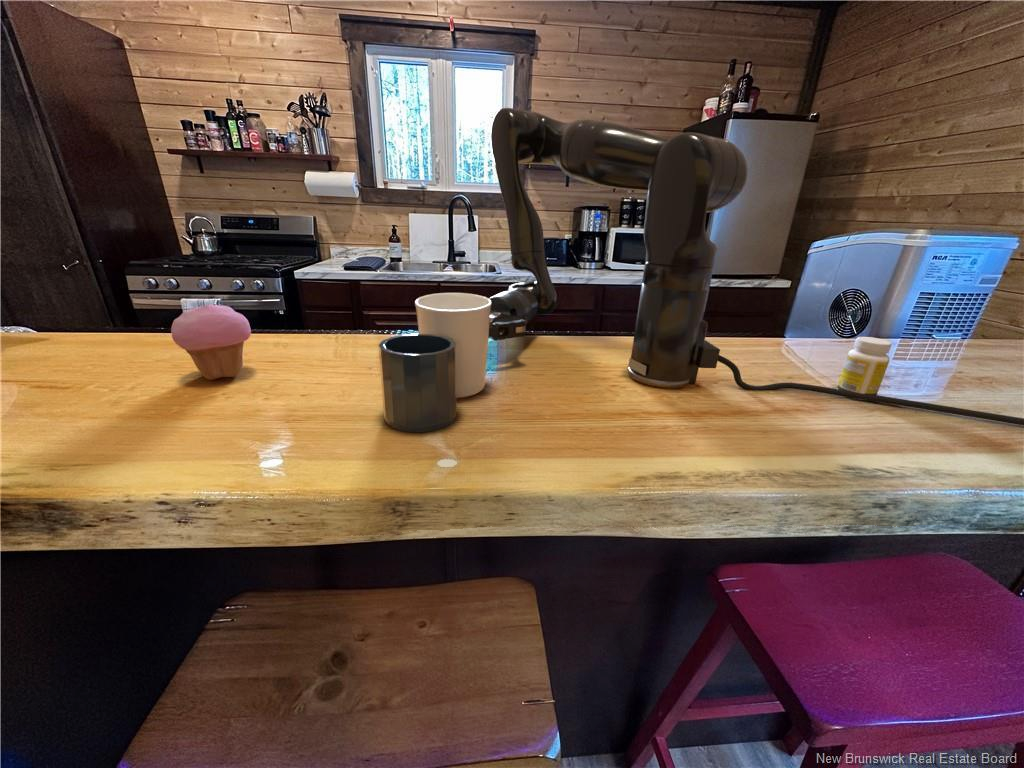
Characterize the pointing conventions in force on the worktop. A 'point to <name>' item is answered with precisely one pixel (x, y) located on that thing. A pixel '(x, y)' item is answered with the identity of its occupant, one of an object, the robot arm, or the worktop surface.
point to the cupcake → (213, 339)
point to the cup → (418, 381)
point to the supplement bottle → (865, 366)
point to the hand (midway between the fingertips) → (466, 337)
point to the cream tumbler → (460, 333)
